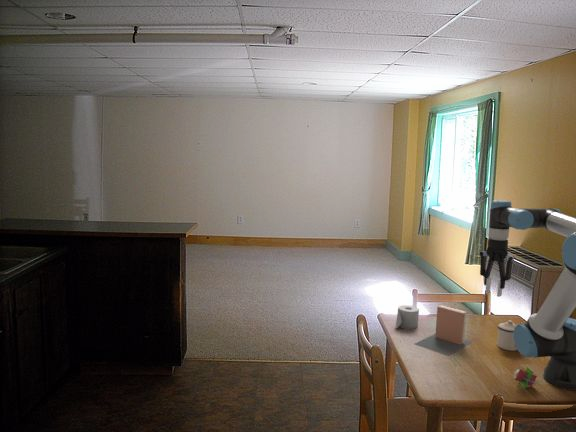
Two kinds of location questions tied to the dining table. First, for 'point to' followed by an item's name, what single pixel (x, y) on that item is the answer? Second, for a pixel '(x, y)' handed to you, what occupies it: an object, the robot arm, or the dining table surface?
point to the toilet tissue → (407, 317)
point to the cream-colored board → (450, 324)
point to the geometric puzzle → (525, 377)
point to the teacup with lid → (506, 336)
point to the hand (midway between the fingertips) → (493, 294)
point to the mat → (441, 345)
